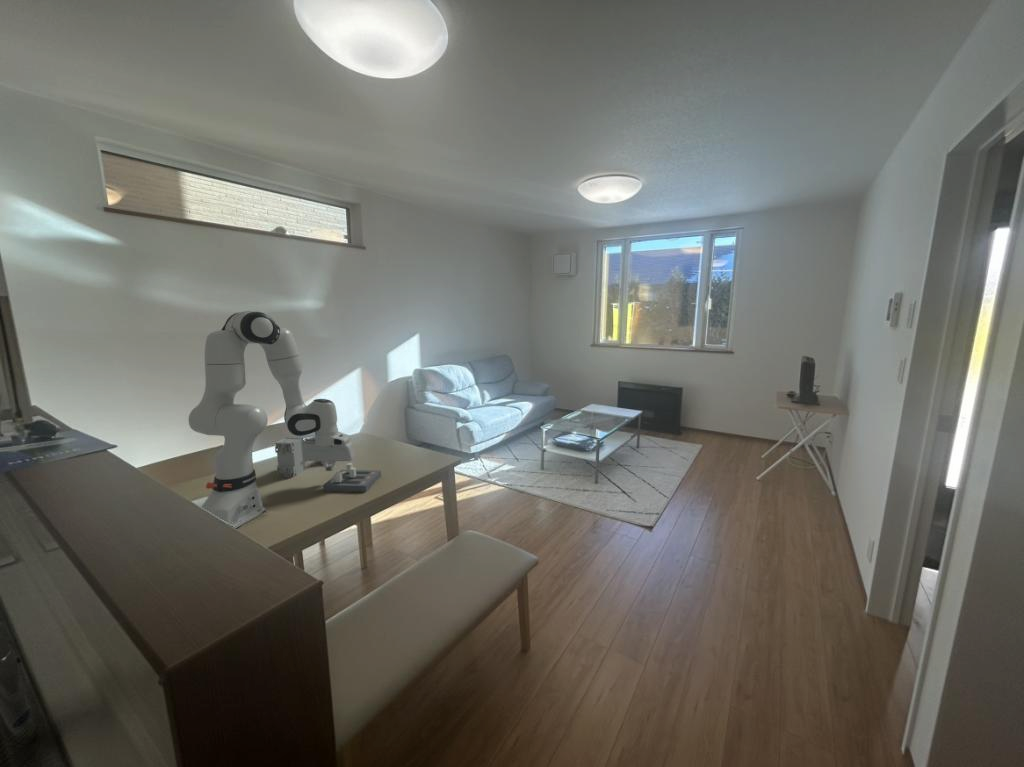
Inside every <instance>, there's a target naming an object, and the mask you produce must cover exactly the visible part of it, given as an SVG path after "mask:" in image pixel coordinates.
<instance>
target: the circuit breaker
mask: <svg viewBox="0 0 1024 767" xmlns="http://www.w3.org/2000/svg"><path fill="white" fill-rule="evenodd" d="M303 440H304V437H291V436H290V437H289V436H288V437H284V438H282V439H280V440H278V441H276V442H274V444H275V446H274V451H275V453H276V456H277V464H278V465H277V466H276V470H277V471H276V472H277V474H278V475H277V476H278V477H282V478H283V477H284V478H295V477H297V476H299V475H300V474H301V473H303V472H304V471H306V469H307V468H306V463H307V462H308V461H304V459H303V457H302V451H303V447H302V441H303Z"/></svg>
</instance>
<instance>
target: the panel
mask: <svg viewBox="0 0 1024 767" xmlns="http://www.w3.org/2000/svg"><path fill="white" fill-rule="evenodd" d="M339 472H342V481H341V482H336V480H335V475H334V476H332V477H331V478H330V479H328V480H326V482H325V483H324V484H322V487H323V488H322V489H323V492H345V493H346V492H351V493H353V492H355V493H356V492H357V493H367V492H368V490H369V489H371V488H372V486H374V484H376V482H377V481H379V479H380V478H382V477H381V476H382V472H381V470H380V469H379V470H372V469H371V470H369V469H368V470H366V469H363V470H362V469H356V476H355V477H354V478H350V473H347V469H341V470H340V471H339Z"/></svg>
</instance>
